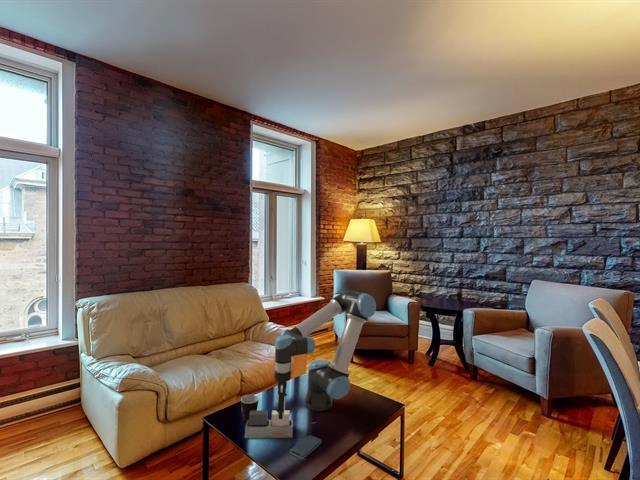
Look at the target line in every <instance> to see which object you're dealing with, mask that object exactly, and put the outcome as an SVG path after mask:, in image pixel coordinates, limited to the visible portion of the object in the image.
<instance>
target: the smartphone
mask: <svg viewBox="0 0 640 480" xmlns="http://www.w3.org/2000/svg"><path fill="white" fill-rule="evenodd" d="M322 443H323V441H322V439H321V438H318V437H316V436H313V435H311V434H309V435H307V436H306V437H305V438H303V439H301V441H299V442H297V443H296V444H295V445H294V446H293V447H291V448H290V449H289V454H290V455H292V456H294V457H296V458H298V459H300V460H305V458H306V457H308V456H309V455H310V454H311V453H312V452H313V451H315V450H316V449H317V448H318V447H319V446H320V445H321V444H322Z"/></svg>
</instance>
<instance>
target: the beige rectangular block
mask: <svg viewBox="0 0 640 480" xmlns="http://www.w3.org/2000/svg"><path fill="white" fill-rule="evenodd" d="M276 410H277V409H276ZM276 410H273V409H272V411H271V420H272V424H271V426H277V422H278V411H276ZM290 411H291V410H290V409H289V410H286V409H285V410H284V426H289V420H290V413H291V412H290Z"/></svg>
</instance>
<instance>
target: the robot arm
mask: <svg viewBox="0 0 640 480" xmlns="http://www.w3.org/2000/svg"><path fill="white" fill-rule="evenodd" d="M376 309H377V303H376V300H375V298H374V297H373V296H372V295H370V294H368V293H366V292H361V291H356V290H347V291H344V292H341V293H340V294H337V295H336V296H334V297H333V298H331V299H330V301H329V303H328V304H326V305H325V306H323V307H322V308H320V309H319V310H317V311H316V312H314V313H312V314H311V315H310V316H308V318H305V319H304V320H303V321H301V322H300V323H298V324H297V325H295V326H293V327H292V328H291V329H284V330H282V332H281V333H280V335H278V336H276V338H275V345H274V352H275V353H274V355H275V356H274V362H273V366H274V376H273V377H274V380H275V381H277V382H278V383H277V394H278V400H277V401H278V402H277V403H278V404H277V409H276V411H278V422H277V426H284V410H286V397H287V395H288V394H287V391H286V390H287V384H288V382H289V380H291V377H292V375H291V374H292V371H291V370H292V357H295V356H301V355H308V354H311V353H313V352H315V349H316V342H315V339H314V338H313V337H312V336H309V335H310V334H312V333H313V332H314V331H317V330H318V329H319V328H321V327H322V326H323V325H325V324H326V323H328V322H329V321H330V320H332V319H333V318H335V317H336V316H338V315H342V314H343V313H346V314H345V315H346V317H347V319H346V322H345V324H344V328H343V330H342V334H341V336H340V339H339V342H338V344H337V345H338V346H337V347H336V351H335V354H334V357H333V360H332V362H331V361H329V360H327V359H326V360H325V359H316V360H313V361H310V362H309V364H308V383H307V384H308V386H307V387H308V388H307V391H306V395H305V398H304V406H305V408H306V409H308V410H309V411H310V410H311V411H314V412H323V411H324V410H325V411H328V410H330V409H331V408H332V407H333V399H335V400H339V399H343V398H344V397H345V396H346V395H348V393H349V391H350V388H351V381H350V379H349V377H350V374H351V372H350V371H349V366H350V363H351V361H352V358H353V355H354V352H355V350H356V345H357V343H358V340H359V337H360V334H361V331H362V328H363V325H364V324H365V323H367V322H368V320H369V318H372V317H373V316H374V315H375V313H376V311H377V310H376ZM329 408H330V409H329ZM327 409H328V410H327Z"/></svg>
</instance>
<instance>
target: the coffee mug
mask: <svg viewBox="0 0 640 480" xmlns="http://www.w3.org/2000/svg"><path fill="white" fill-rule="evenodd" d="M259 399H260V397H259V396H258V395H256V394H247V395H244V396H242V397H241V398H240V405H241V417H242V418H241V419H242V422H243V421H244V422H243V423H247V420H249V414H250V411H258V406H259Z"/></svg>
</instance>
